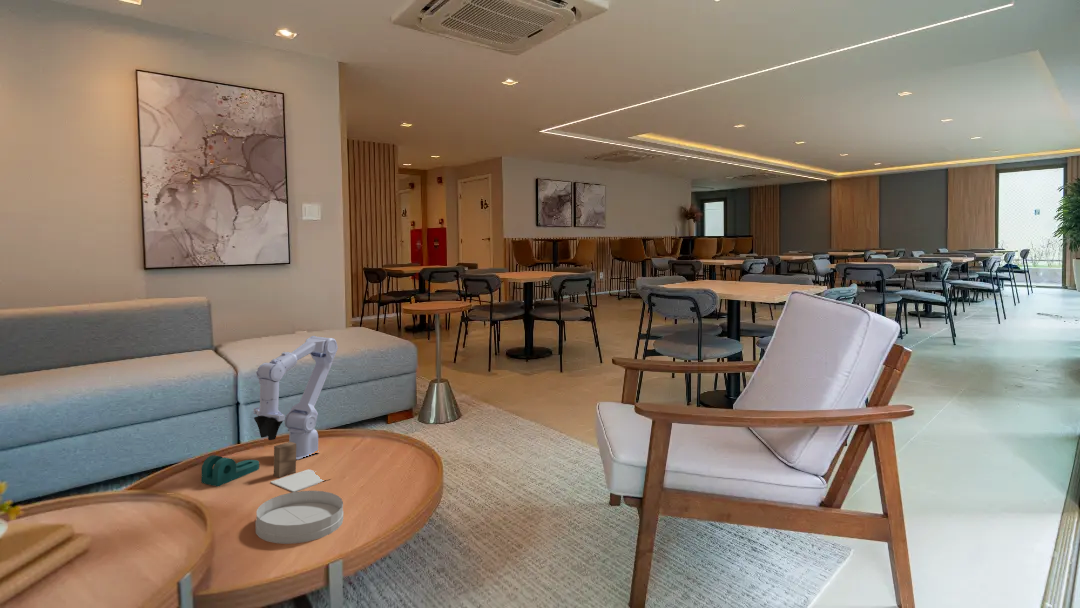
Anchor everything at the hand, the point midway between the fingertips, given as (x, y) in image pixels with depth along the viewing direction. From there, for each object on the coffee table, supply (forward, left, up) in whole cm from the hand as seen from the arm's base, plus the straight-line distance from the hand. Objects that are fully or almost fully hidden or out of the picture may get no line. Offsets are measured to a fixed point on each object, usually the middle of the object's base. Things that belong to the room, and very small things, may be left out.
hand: (268, 438), depth 189 cm
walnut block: (0, +9, -10) cm, 14 cm away
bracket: (+10, -3, -11) cm, 15 cm away
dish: (+18, +43, -11) cm, 48 cm away
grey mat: (0, +18, -10) cm, 21 cm away
